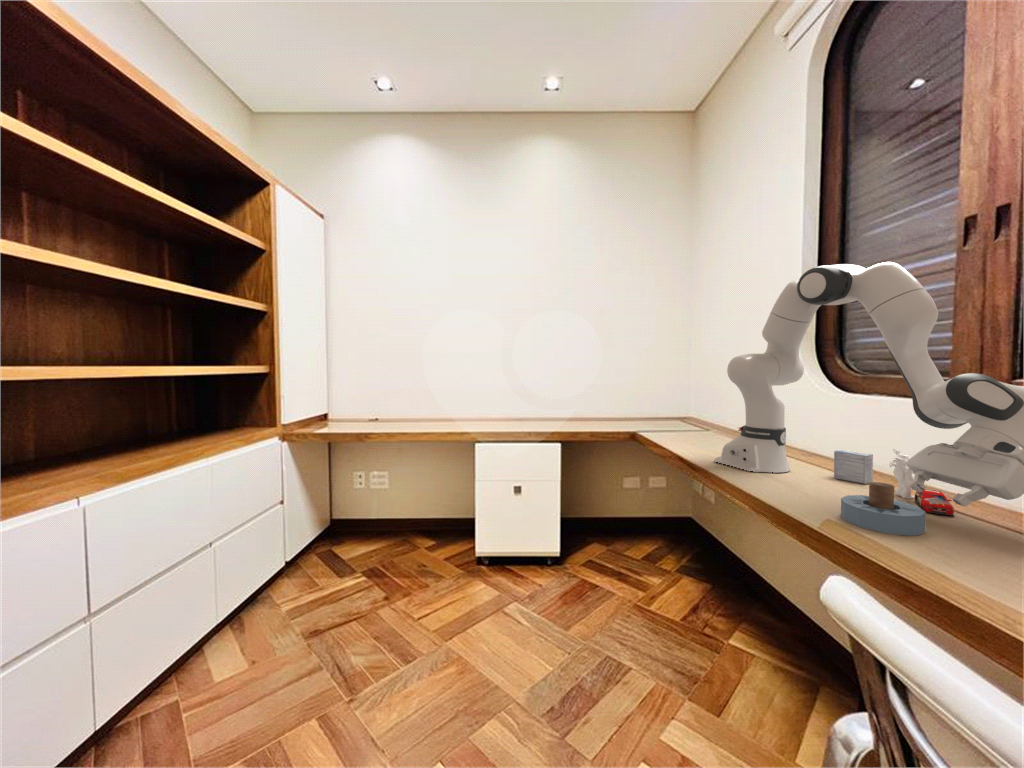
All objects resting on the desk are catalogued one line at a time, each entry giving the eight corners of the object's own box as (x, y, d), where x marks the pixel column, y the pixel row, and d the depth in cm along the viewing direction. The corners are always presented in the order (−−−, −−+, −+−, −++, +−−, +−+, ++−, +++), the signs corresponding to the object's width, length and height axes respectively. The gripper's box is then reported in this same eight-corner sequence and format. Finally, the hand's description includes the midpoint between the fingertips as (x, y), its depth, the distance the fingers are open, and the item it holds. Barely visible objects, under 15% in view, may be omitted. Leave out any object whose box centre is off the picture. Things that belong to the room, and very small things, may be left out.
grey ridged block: (873, 482, 115) (873, 453, 114) (865, 484, 113) (866, 455, 112) (841, 476, 122) (841, 448, 121) (833, 478, 120) (833, 450, 119)
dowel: (865, 521, 86) (866, 483, 86) (872, 517, 88) (873, 481, 88) (889, 527, 83) (890, 488, 83) (896, 523, 85) (897, 485, 85)
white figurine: (884, 490, 107) (885, 447, 107) (902, 491, 106) (903, 447, 106) (906, 501, 99) (907, 454, 98) (925, 502, 98) (927, 455, 97)
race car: (956, 519, 87) (956, 502, 87) (921, 514, 91) (921, 497, 91) (944, 503, 98) (944, 487, 97) (913, 499, 101) (913, 483, 101)
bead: (831, 519, 88) (832, 501, 88) (855, 508, 95) (855, 491, 94) (912, 540, 77) (912, 520, 77) (932, 526, 84) (932, 507, 83)
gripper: (926, 432, 94) (882, 473, 95) (1033, 450, 74) (975, 501, 75) (945, 451, 94) (901, 491, 95) (1058, 473, 73) (1000, 524, 74)
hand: (935, 495), depth 85 cm, fingers open, 8 cm apart
